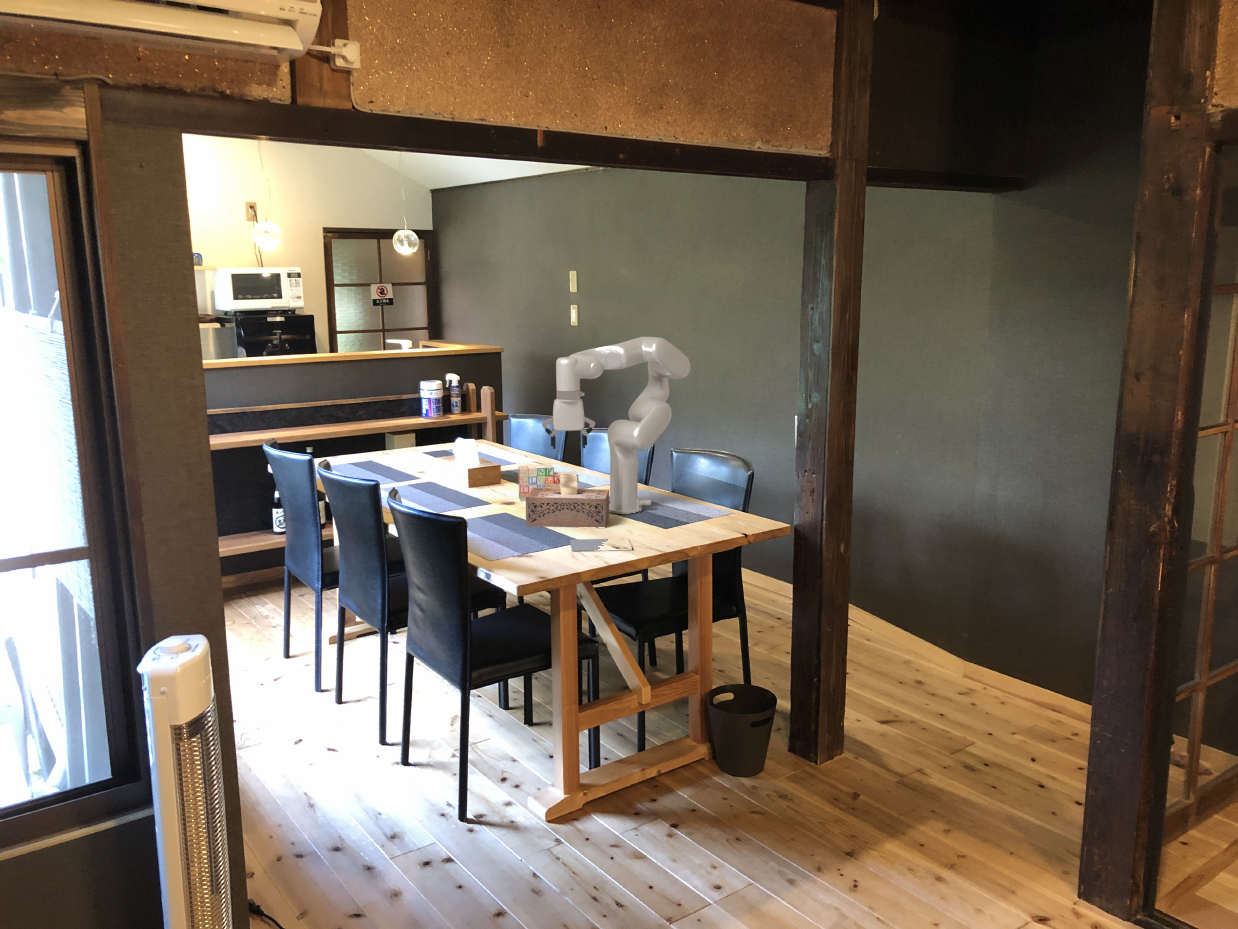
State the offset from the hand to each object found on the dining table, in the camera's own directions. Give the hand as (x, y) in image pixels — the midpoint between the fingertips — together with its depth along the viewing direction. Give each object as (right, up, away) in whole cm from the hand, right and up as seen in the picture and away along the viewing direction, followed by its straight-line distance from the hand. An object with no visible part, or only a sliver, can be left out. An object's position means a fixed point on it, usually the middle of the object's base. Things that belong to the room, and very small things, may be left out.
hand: (569, 447), depth 306 cm
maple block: (0, -15, +3) cm, 15 cm away
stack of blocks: (-10, -18, +38) cm, 43 cm away
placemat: (+11, -30, -24) cm, 40 cm away
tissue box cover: (-1, -25, +4) cm, 25 cm away
